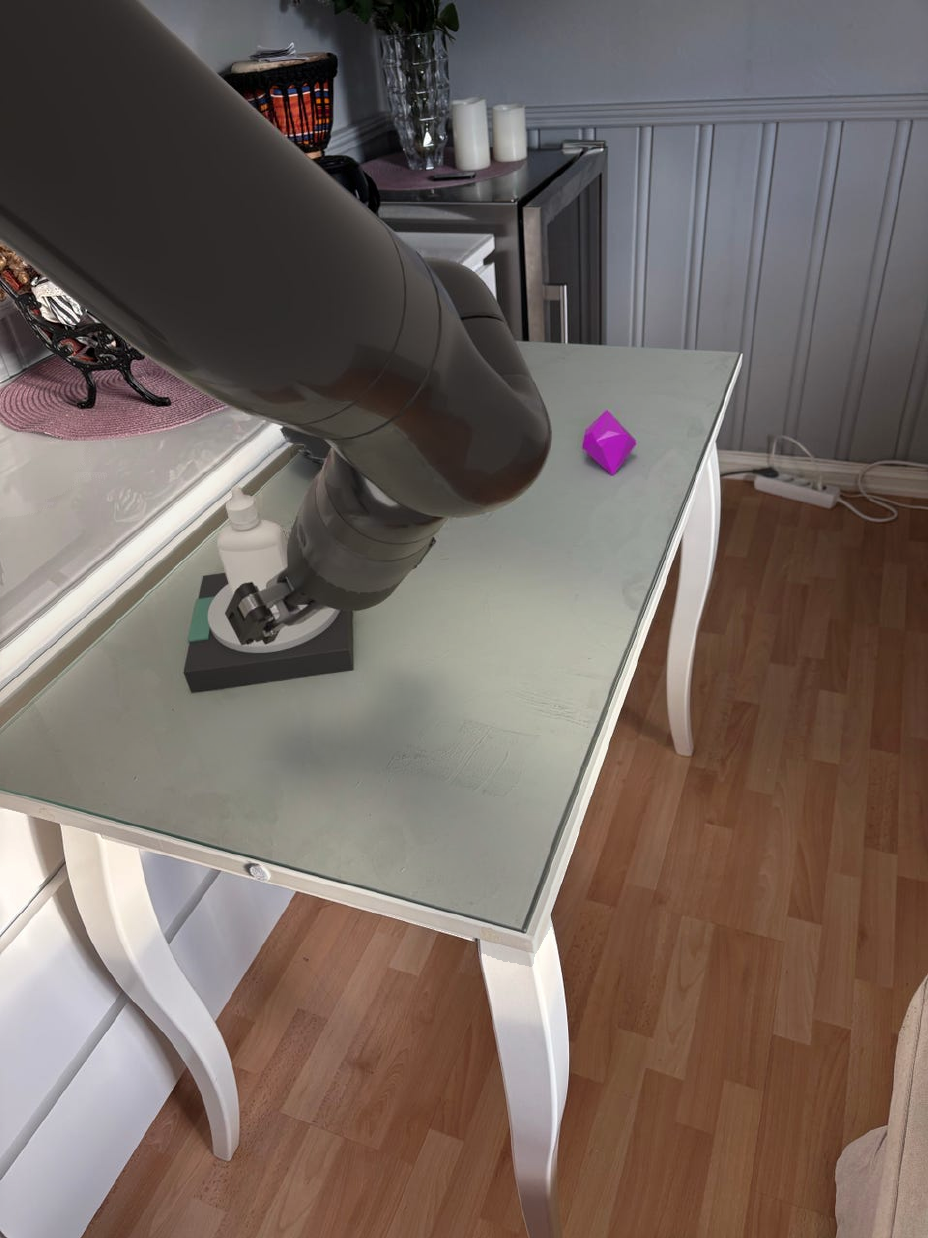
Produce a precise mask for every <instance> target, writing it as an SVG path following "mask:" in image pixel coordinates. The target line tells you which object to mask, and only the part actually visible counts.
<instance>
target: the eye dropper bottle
mask: <svg viewBox="0 0 928 1238" xmlns="http://www.w3.org/2000/svg"><path fill="white" fill-rule="evenodd" d="M230 491H231V498H230V499H228V500H227V501H226V503H225V510H226V513H227V516H228V519H229V523H230V524H228V525H226V526H225V527H223V528H222V529H221V530H220V532H219V533H218V535H217V539H216V546H217V550H218V551H217V552H218V554H219V557H220V560H221V561H220V562H221V565H222V567H223V570H224V573H226V577H227V580H228V583H229V586H230V589H231V592H232V595H234V592H235V590H236V589H237V588H238V587H239V586H240V585H241V584H243V583H249V582H253V583H254V585H255V586H257V587H258V589H259V591H262V590H264V589H266V584H267V582H268V581H269V580H270V579H272V578H273V577H274V576H276V575H277V574H278V573H280V572H281V571H282V570H284V569H285V568H287V567H288V566H287V544H288V540H287V538H286V535H285V532H284V529H283V527H282V526H281V525H279V524H278V523H275V522H273V521H270V520H267V519H263V518H261V517H260V514H259V509H258V506H257V503H256V499H255V498H254V497H253V496H252V495H248V494H245V493H244V492H243V490H242V488H241V486H240V485H233V486H232V487H231V490H230ZM270 610H271V611H272V613H273V614H274V613H279V611H278V609H277V607H276V605H274V606H273V607H272V608H271V609H270Z"/></svg>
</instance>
